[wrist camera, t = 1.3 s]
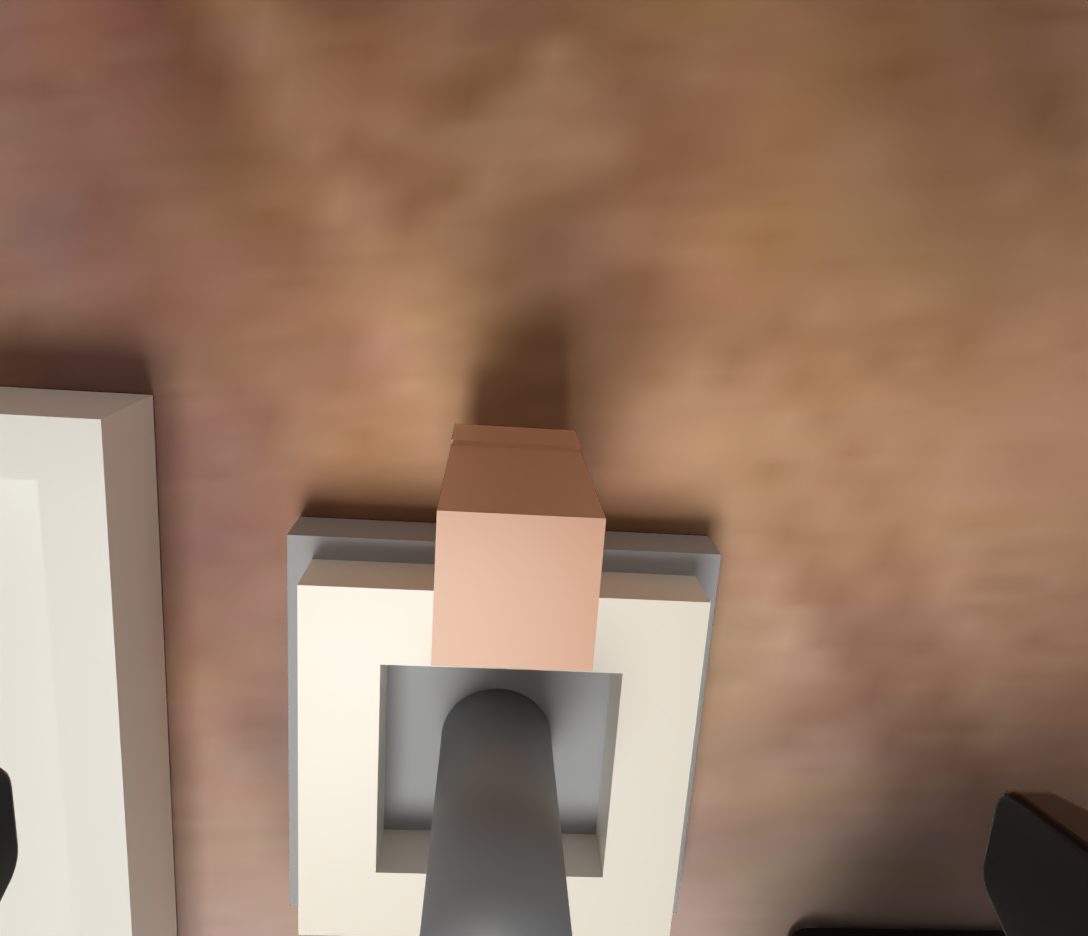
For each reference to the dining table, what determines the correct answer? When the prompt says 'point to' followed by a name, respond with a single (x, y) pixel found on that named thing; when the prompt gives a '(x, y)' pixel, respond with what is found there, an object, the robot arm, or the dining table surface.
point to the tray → (83, 666)
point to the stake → (489, 744)
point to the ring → (497, 643)
